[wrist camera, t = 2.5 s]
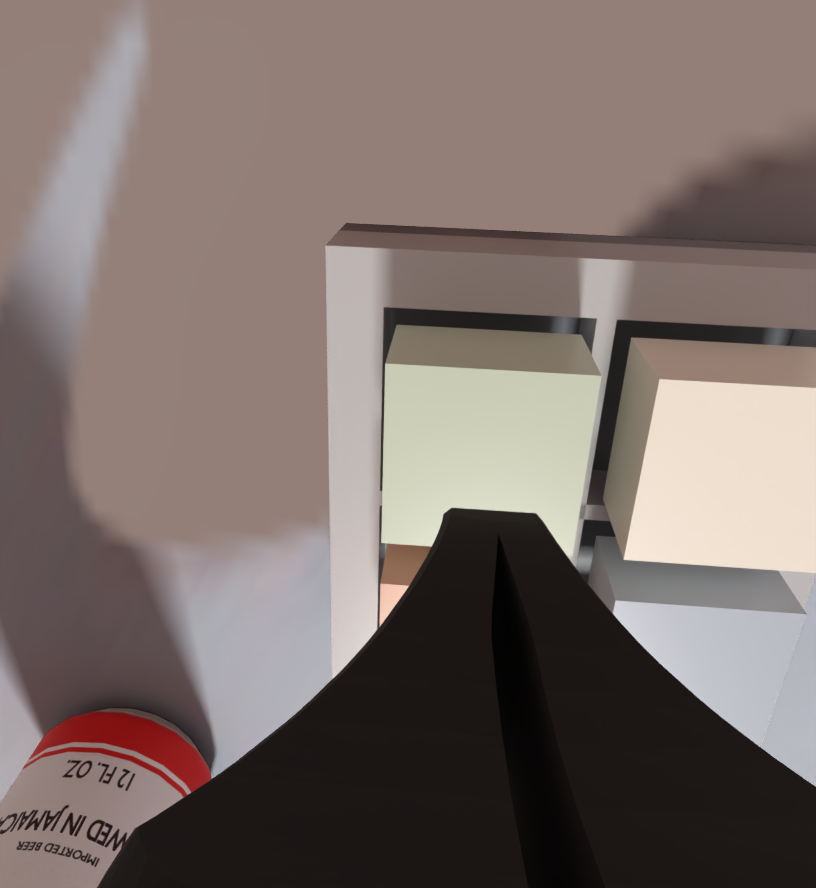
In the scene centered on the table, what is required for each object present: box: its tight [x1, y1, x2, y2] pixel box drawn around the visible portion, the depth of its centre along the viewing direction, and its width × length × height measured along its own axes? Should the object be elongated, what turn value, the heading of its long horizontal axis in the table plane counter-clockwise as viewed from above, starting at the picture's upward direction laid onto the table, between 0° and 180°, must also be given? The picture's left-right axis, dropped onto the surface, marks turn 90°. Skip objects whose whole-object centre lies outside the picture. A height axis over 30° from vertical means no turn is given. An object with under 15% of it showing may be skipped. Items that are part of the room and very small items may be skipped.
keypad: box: [326, 223, 816, 679], centre depth 18 cm, size 12×12×3 cm
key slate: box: [588, 536, 807, 748], centre depth 17 cm, size 4×4×2 cm
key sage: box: [381, 325, 601, 556], centre depth 15 cm, size 4×4×2 cm
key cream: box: [603, 337, 816, 573], centre depth 14 cm, size 4×4×2 cm
